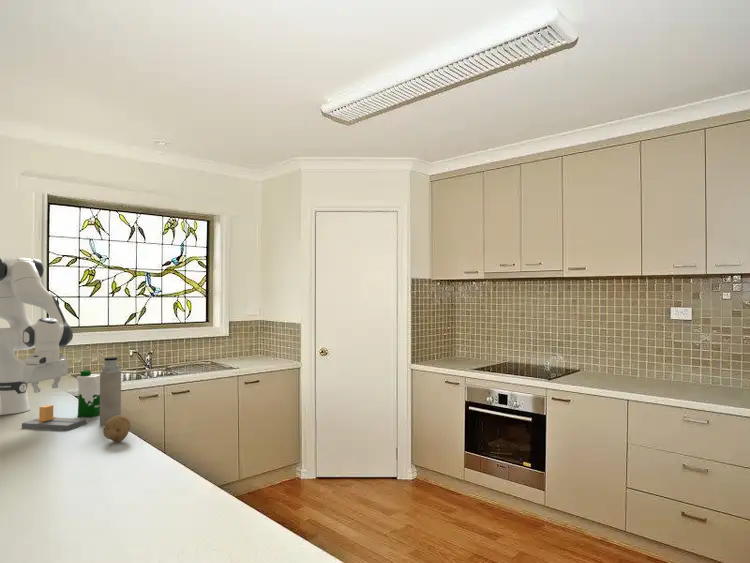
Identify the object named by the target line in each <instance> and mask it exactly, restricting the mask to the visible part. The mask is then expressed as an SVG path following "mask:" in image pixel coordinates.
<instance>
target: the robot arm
mask: <svg viewBox="0 0 750 563" xmlns="http://www.w3.org/2000/svg"><path fill="white" fill-rule="evenodd" d="M44 269H45V268H44V264H43V262H42V261H41V260H40V259H39V258H38V259H37V258H33V257H32V258H27V257H3V258H1V257H0V319H3V320H5V321H6V322H7V323H8V324H9V327H0V416H4V415H12V414H19V413H25V412H28V411H30V410H31V407H30V404H29V398H28V397H29V395H28V390H27V389H28V384H31V385H30V386H31V387H32V388H33V393H35V394H39V393H40V392H41V387H39V385H40V384H39V382H43V381H47V380H54V381H53V382H52V384H51V389H58V387H59V383H60V382H61V378H62V377H66V376H68V373H69V367H68V361H67V356H65V354H60V347H63V348H65V347H66V346H67V345H69V343H70V342H72V341H73V338H74V333H73V330H72V328H71V326H70V325H69V324H68V322H67V319H66V318H65V316H64V313H63V312H62V309H61V307H60V305H59V303H58V301H57V299H56V297H55V296H54V294H52V293H51V292H49V291H48V290H47V289H46V288H45V286H44V285H43V283H42V280H41V278H42V277H43V276H44ZM26 305H30V306H35V307H38V308H40V309H43V310H44V311H46V313H47V314H48V317H42V318H41V317H40V318H39V319H38V320H36V323H35V324H34V323H32V322H31V320H30V318H29V316H28V313H27V307H26ZM31 349H35V350H34V352H33V353H32V354H30V355H29V356H27V357H24V359H21V358H18V357H17V356H16V352H17V351H25V350H26V351H27V350H31ZM15 351H16V352H15Z"/></svg>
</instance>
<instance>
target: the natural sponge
mask: <svg viewBox="0 0 750 563" xmlns="http://www.w3.org/2000/svg"><path fill="white" fill-rule="evenodd" d="M131 425H132V424H131V422H130V420H129V418H127V417H126V416H124V415H121V416H114V417H112V418H111V419H109V420H108V421H107V422H106V424H105V426H103V436H104V437H105V438H107V439H108V440H112V442H114V443H117V444H118V443H121V442H122V441H124V440H125V438H127V436H128V435H129V433H130V430H131Z"/></svg>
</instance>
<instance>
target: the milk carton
mask: <svg viewBox="0 0 750 563" xmlns="http://www.w3.org/2000/svg"><path fill="white" fill-rule="evenodd" d="M76 380H77V386H78V387H77V388H78V395H77V396H78V398H77V401H78V402H77V404H78V405H77V418H94V417H97V416H100V373H99V374H98V373H92V372H91V370H85V369H84V370H81V371H80V375H78V376H77V377H76Z"/></svg>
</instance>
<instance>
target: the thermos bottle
mask: <svg viewBox="0 0 750 563" xmlns="http://www.w3.org/2000/svg"><path fill="white" fill-rule="evenodd" d="M103 359H104V364H103V365H102V366H101V370H100V372H99V374H100V414H99V426H100V427H104V426H105V424H106V422H107V421H108V420H109V419H111V418H112V417H114V416H122V370H121V369H120V364H118V357H117V356H115V357H114V356H112V357H111V356H109V357H104V358H103Z"/></svg>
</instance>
